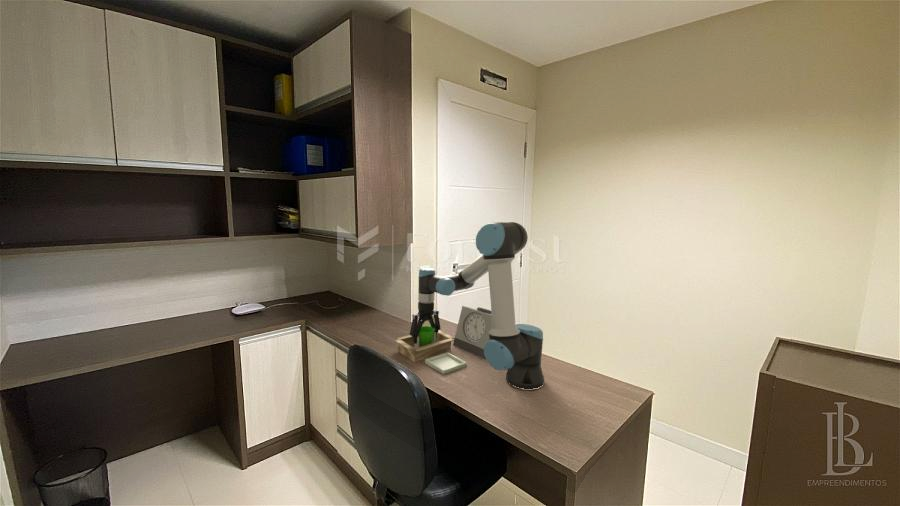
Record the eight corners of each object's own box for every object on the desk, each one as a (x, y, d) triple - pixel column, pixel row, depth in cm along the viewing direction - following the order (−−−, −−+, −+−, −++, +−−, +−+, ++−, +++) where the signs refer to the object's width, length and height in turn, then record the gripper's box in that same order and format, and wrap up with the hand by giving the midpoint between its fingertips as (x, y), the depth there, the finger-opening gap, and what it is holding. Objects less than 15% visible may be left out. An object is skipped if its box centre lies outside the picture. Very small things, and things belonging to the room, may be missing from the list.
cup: (431, 356, 168) (432, 333, 167) (412, 353, 170) (413, 331, 168) (436, 348, 177) (437, 326, 175) (418, 346, 179) (418, 324, 177)
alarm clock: (452, 345, 182) (454, 306, 178) (473, 337, 193) (475, 300, 189) (484, 359, 167) (486, 316, 164) (505, 350, 178) (507, 310, 175)
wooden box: (456, 350, 175) (457, 338, 174) (413, 364, 159) (413, 351, 158) (434, 339, 188) (435, 328, 187) (392, 351, 172) (392, 339, 171)
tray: (466, 366, 159) (466, 362, 159) (443, 374, 151) (443, 370, 151) (447, 355, 169) (447, 352, 169) (425, 363, 161) (425, 359, 161)
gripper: (439, 296, 180) (438, 339, 183) (402, 302, 166) (401, 349, 169) (449, 299, 174) (447, 344, 177) (411, 307, 160) (410, 355, 163)
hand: (425, 347), depth 173 cm, fingers closed on cup, 9 cm apart
